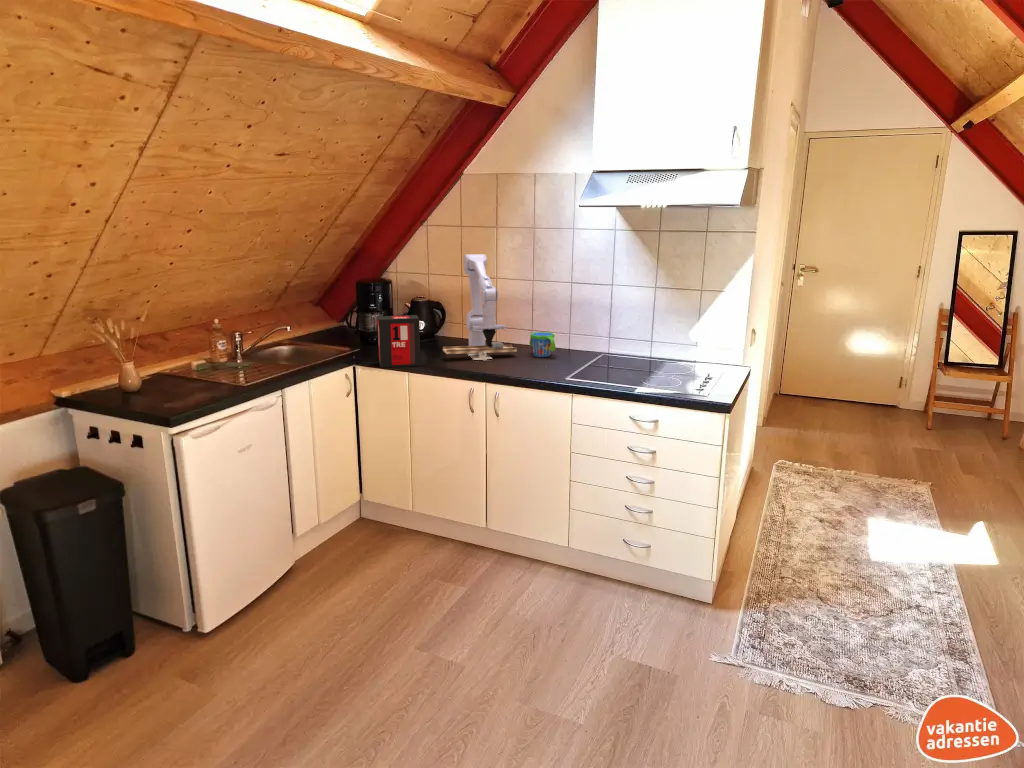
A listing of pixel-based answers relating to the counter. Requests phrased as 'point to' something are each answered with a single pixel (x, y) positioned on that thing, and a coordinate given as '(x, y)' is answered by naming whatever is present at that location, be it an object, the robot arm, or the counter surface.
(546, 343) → the snack cup
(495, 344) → the steel block
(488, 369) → the counter surface
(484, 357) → the fulcrum stand
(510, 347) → the beam
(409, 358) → the cleaning product box
